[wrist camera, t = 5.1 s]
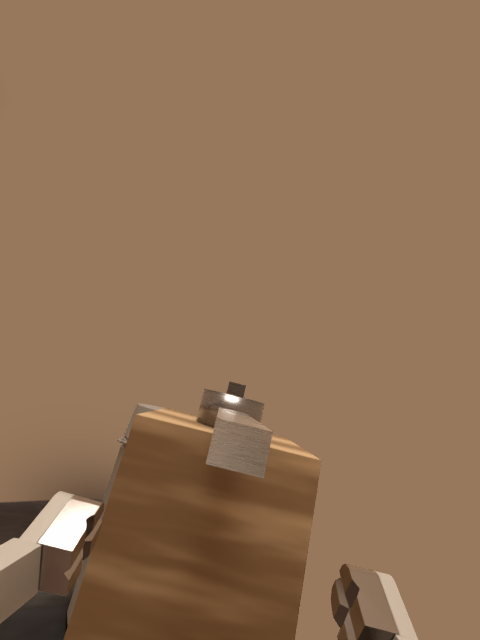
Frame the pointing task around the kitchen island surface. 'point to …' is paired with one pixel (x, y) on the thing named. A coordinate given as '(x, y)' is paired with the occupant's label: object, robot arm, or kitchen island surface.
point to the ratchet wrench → (235, 431)
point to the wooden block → (197, 541)
